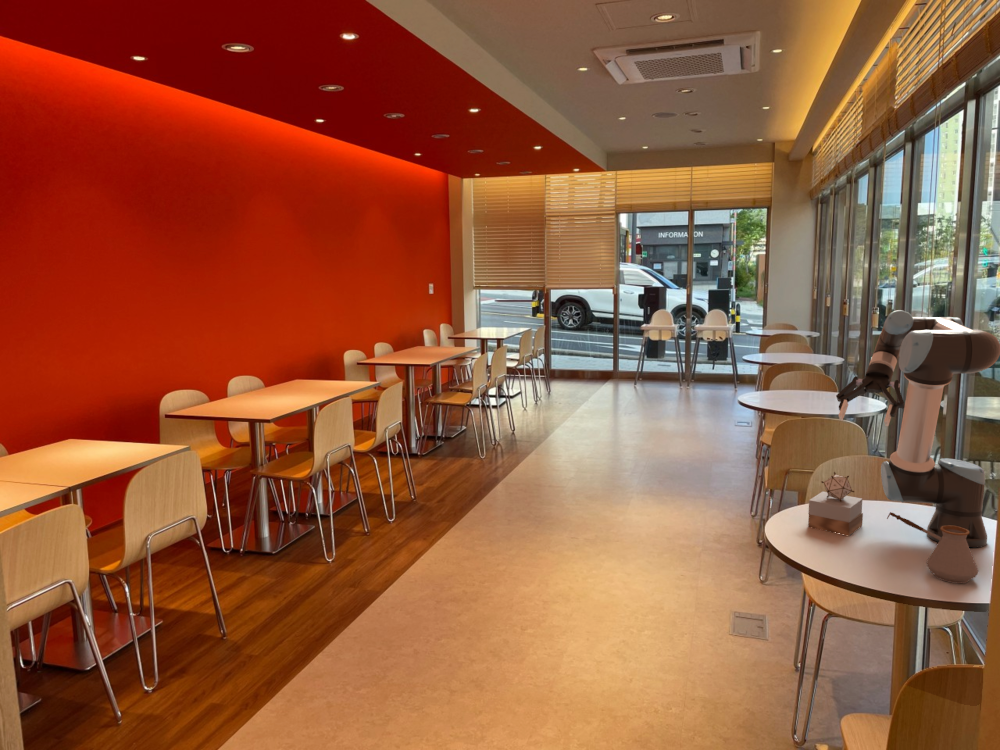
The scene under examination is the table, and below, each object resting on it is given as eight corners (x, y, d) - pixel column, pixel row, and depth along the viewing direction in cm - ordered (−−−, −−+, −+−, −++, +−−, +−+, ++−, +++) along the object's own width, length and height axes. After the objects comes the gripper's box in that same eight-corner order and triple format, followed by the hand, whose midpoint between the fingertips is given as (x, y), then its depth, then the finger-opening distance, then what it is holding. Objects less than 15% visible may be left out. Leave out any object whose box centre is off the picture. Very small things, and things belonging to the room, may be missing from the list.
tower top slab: (861, 512, 231) (862, 498, 230) (849, 522, 222) (850, 508, 222) (821, 504, 239) (822, 491, 238) (808, 514, 230) (809, 500, 229)
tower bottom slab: (862, 527, 231) (862, 513, 230) (848, 537, 222) (849, 522, 222) (822, 518, 239) (823, 505, 239) (808, 528, 231) (808, 514, 230)
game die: (834, 512, 229) (822, 490, 225) (825, 495, 236) (812, 473, 233) (863, 500, 226) (851, 477, 223) (852, 483, 234) (840, 461, 230)
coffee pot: (977, 574, 194) (982, 518, 192) (977, 590, 184) (982, 532, 182) (885, 558, 205) (889, 505, 203) (881, 572, 196) (885, 517, 194)
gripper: (925, 379, 237) (908, 433, 228) (843, 372, 254) (825, 422, 245) (921, 364, 232) (904, 418, 224) (839, 358, 249) (819, 409, 241)
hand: (862, 421), depth 234 cm, fingers open, 13 cm apart
